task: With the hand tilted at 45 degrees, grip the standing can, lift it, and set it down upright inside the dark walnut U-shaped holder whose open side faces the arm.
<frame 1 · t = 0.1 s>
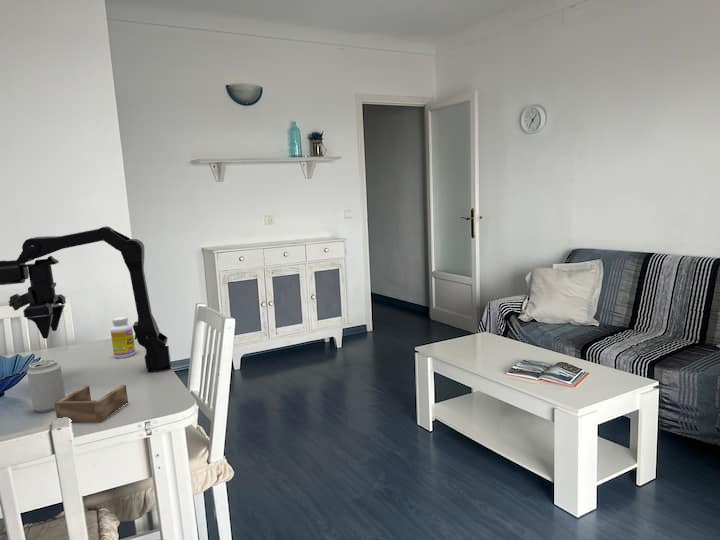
hand: (50, 334, 158), 15 cm above the table, tool pointing down, fingers open, 9 cm apart
supplement bottle: (125, 356, 184), on the table
can: (50, 408, 141), on the table
u rest: (94, 412, 135), on the table
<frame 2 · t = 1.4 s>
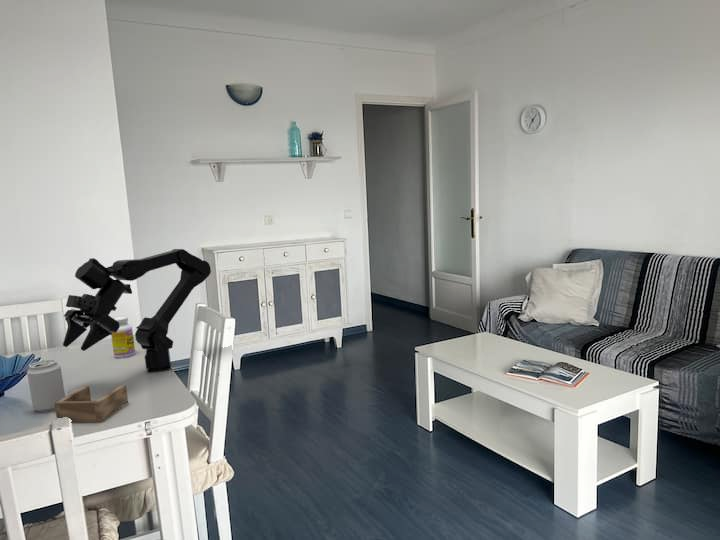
hand: (73, 348, 145), 13 cm above the table, tool tilted 45°, fingers open, 9 cm apart
nothing on the table moved.
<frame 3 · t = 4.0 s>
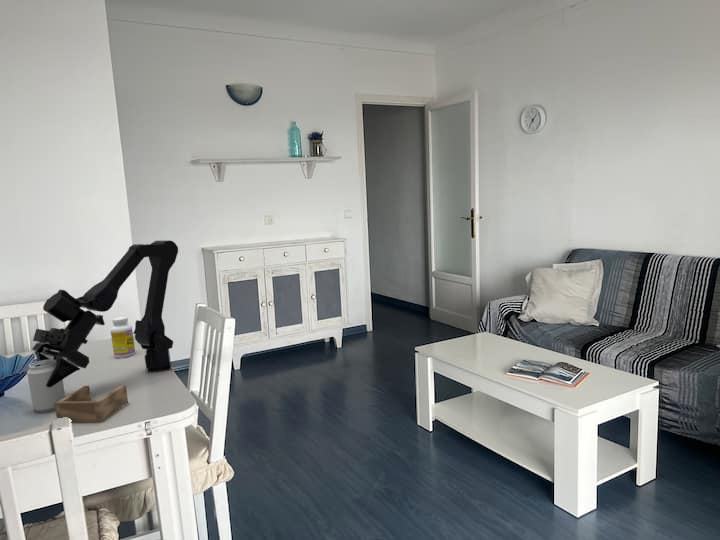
hand: (40, 384, 139), 7 cm above the table, tool tilted 45°, fingers closed on can, 7 cm apart
can: (50, 407, 141), on the table, touching gripper
everything else where it was.
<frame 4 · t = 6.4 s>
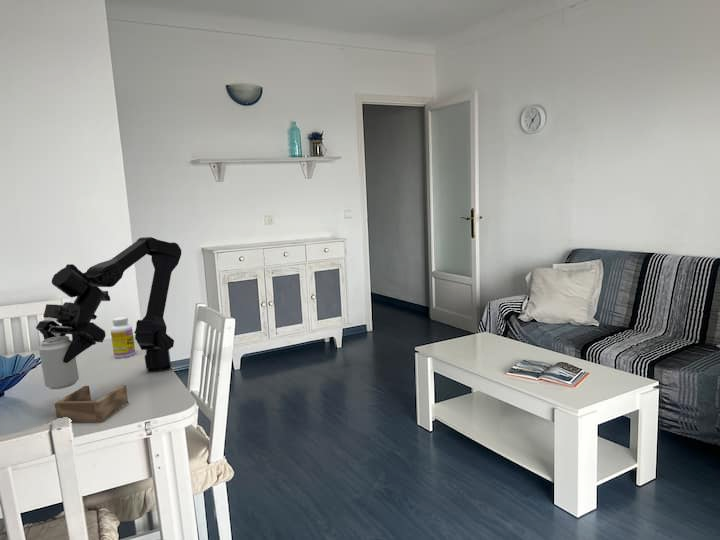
hand: (53, 361, 135), 13 cm above the table, tool tilted 45°, fingers closed on can, 7 cm apart
can: (63, 385, 137), point 6 cm above the table, touching gripper
everything else where it was.
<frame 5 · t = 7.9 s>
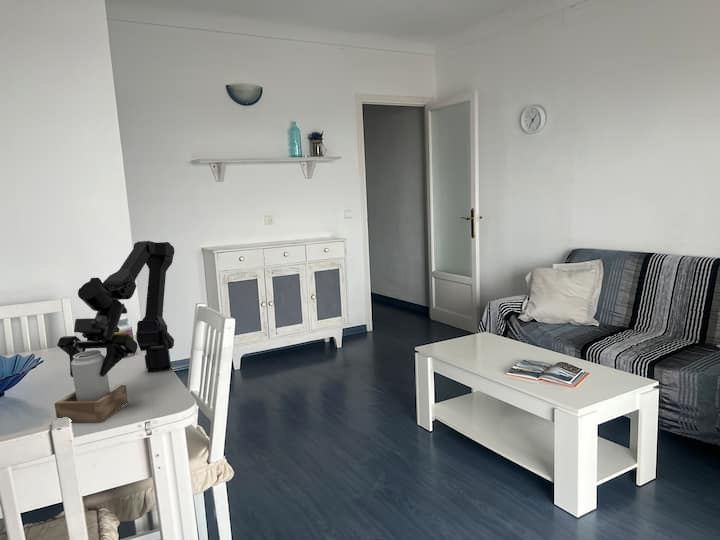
hand: (86, 376, 133), 10 cm above the table, tool tilted 45°, fingers closed on can, 7 cm apart
can: (94, 400, 135), point 3 cm above the table, touching gripper
everything else where it was.
when the fingers open (8 cm above the table, at t = 8.9 s): can stays where it is, resting on u rest.
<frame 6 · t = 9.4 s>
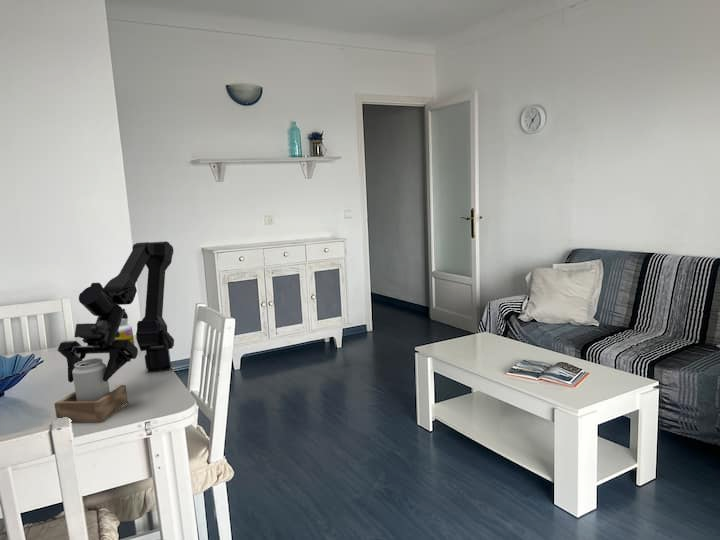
hand: (86, 381, 133), 8 cm above the table, tool tilted 45°, fingers open, 9 cm apart
can: (95, 408, 136), point 1 cm above the table, touching u rest
everything else where it was.
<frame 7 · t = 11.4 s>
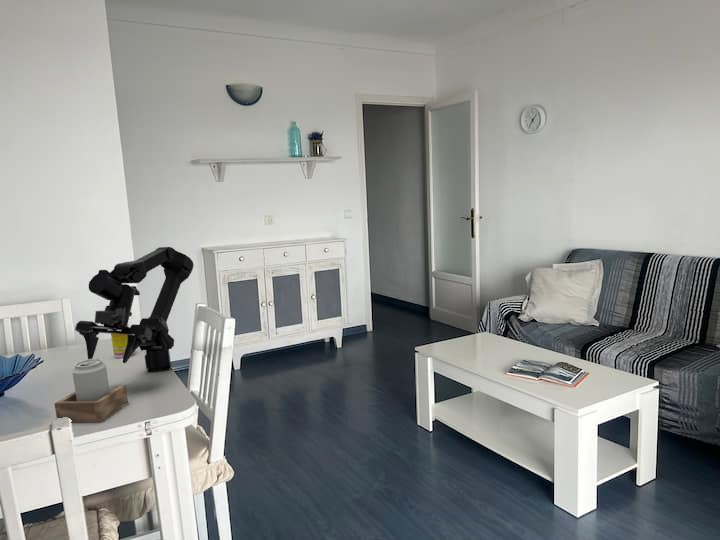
hand: (106, 361, 145), 9 cm above the table, tool tilted 30°, fingers open, 9 cm apart
nothing on the table moved.
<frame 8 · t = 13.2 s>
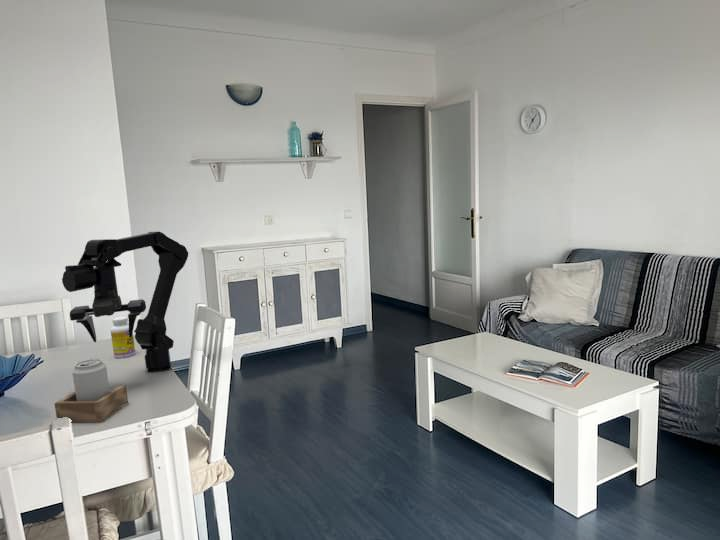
hand: (113, 339, 153), 13 cm above the table, tool pointing down, fingers open, 9 cm apart
nothing on the table moved.
at the end: can 0.3 cm off-centre on the u rest, point 0.6 cm above the u rest's base; can tilted 0°; the gripper is holding nothing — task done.
